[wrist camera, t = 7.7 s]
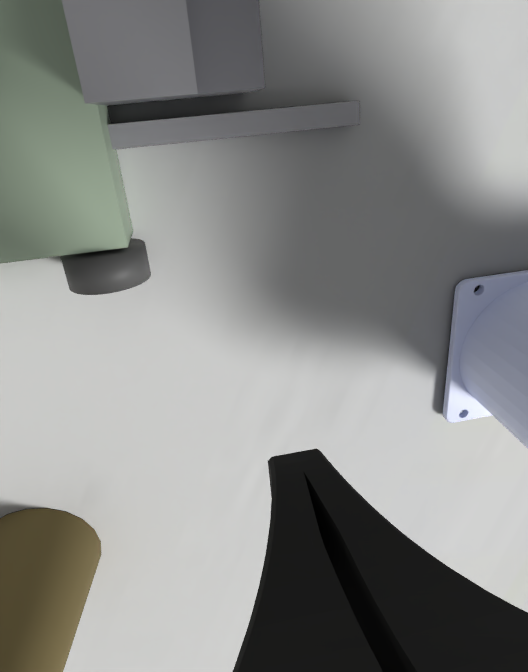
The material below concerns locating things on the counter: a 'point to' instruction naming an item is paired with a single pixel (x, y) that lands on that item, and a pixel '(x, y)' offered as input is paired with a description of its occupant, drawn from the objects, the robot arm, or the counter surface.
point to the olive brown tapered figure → (43, 586)
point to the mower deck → (89, 153)
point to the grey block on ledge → (165, 48)
